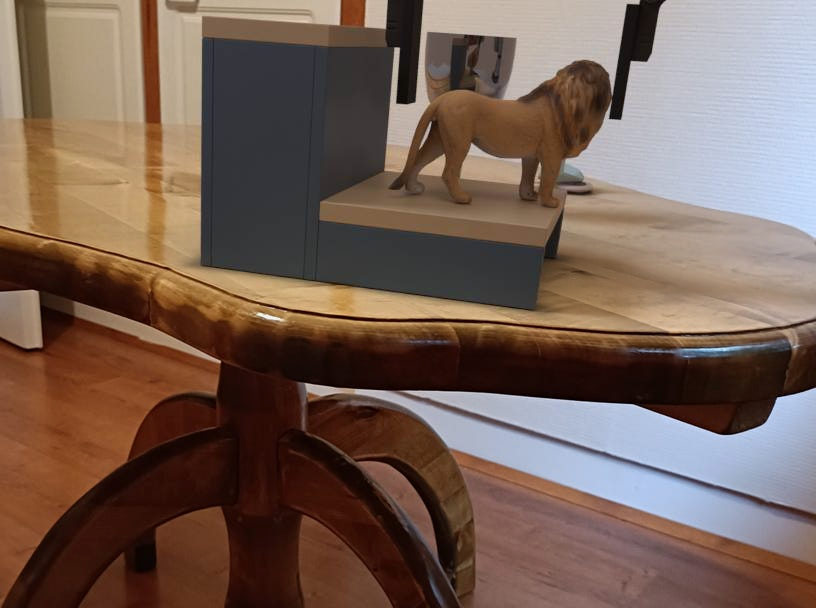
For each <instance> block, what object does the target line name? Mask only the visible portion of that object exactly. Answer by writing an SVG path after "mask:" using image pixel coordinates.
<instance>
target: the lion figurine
mask: <svg viewBox="0 0 816 608" xmlns="http://www.w3.org/2000/svg"><path fill="white" fill-rule="evenodd" d="M612 95H613V91H612V85H611V78H610V72H608V71H607V70H606V69H605V67H603V65H602V64H600V63H598V62H596V61H595V60H590V59H581V60H580V59H579V60H574V61H572V62H571V63H570V64H567V65H565V66H564V67H563V68H561V69H559V70H557V71H556V73H555V76H553V77H552V78H551V79H547V80H544V81H542V82H541V83H539V84H538V86H536V87H535V88H533V89H532V90H531V91H530V92H529V93H527V94H525V95H522V96H520V97H518V98H517V99H503V100H501V99H494V98H489V97H486V96H483V95H480V94H478V93H475V92H473V91H469V90H454V91H450V92H447V93H444V94H443V95H441V96H439V97H437V98H436V99H435V100H434V101H433V102H432V103H431V104H430V103H429V105H427V107H426V109H424V111H423V113H422V115H421V117H420V119H419V121H418V122H417V125H416V128H415V130H414V134H413V137H412V140H411V143H410V147H409V151H408V154H407V157H406V158H407V159H406V162H405V165H404V167H403V170H402V171H401V172H402V174H401V175H400V176H399V177H398V178H397V179H396V180H395V181H394V182H393V183H392V184H391V185H390V186H389V187H388V189H390V190H399V189H401V188H402V187H403V186H404V184H405V189H406V190H407V191H410V192H417V193H422V192H424V190H425V186H424V184H423V183H421V182H418V181H417V175H418V174H420V172H421V171H422V170H423V169H424V168H425V167H426V166H428V165H429V164H432V163H433V162H434V161H435V160H437V159H438V158H441V157H442V156H443V155H444V158H445V163H444V166H443V170H442V173H441V176H442V180H443V182H444V183H445V185H446V187H447V189H448V191H449V193H450V195H451V197H452V199H453V200H454V201H456V202H461V203H471V202H472V196H471V194H470V193H468V192H465V191H462V190H461V188H460V186H459V183H458V174H459V170H460V168H461V166H462V167H463V164H464V161H465V160H466V158H467V156H468V154H469V152H470V149H471V146H472V145H474V146H475V147H476V148H477V149H479V150H480V151H482V152H483V153H485V154H487V155H489V156H492V157H495V158H497V159H503V160H504V159H508V160H514V159H515V160H517V159H518V160H519V159H520V160H521V175H520V176H521V178H520V183H519V185H520V186H519V196H520V198H522V199H525V200H537V199H538V195H539V196H540V201H541V204H542V205H544V206H548V207H553V208H557V207H559V205H560V202H559V200H558V199H556V198H554V197H553V196H552V193H553V188H554V186H555V183H556V181H557V178H558V175H559V171H560V168H561V163H562V160H563V159H566V160H567V159H574V158H577V157H579V156H580V155H581V154H582V152H584V151H585V150H587V149H588V147H589V145H590V143H591V142H592V140H593V138H594V137H595V136H596V135H597V134H598V133H599V131H600V130H601V128H602V126H603V124H604V120H605V117H606V115H607V112H608V110H609V109H610V107H611V101H612ZM429 125H430V126H429ZM429 127H430V128H429ZM428 128H429V131H428V133H427V130H428ZM426 133H427V136H426ZM425 136H426V138H425ZM424 138H425V140H424ZM423 140H424V142H423ZM422 143H423V144H422ZM539 165H540V173H541V178H540V179H539V186H538V187H539V190H538V192H537V191H534V186H535V179H536V176H537V172H538V169H539Z"/></svg>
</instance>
